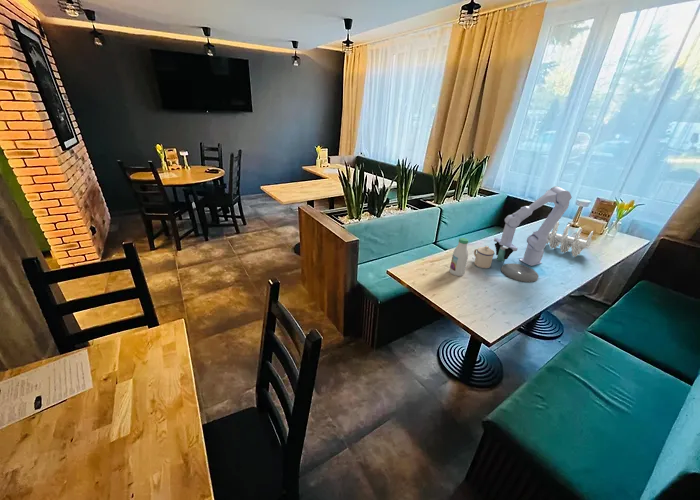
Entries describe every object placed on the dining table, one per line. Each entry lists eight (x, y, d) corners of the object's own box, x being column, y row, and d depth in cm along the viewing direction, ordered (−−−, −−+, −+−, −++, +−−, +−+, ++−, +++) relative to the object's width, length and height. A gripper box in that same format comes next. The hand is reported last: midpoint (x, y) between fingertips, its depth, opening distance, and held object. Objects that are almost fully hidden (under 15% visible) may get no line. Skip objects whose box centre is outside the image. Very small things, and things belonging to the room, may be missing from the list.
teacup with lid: (494, 267, 165) (499, 248, 159) (482, 270, 161) (487, 251, 156) (478, 257, 174) (482, 240, 169) (466, 260, 171) (470, 242, 166)
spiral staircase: (541, 248, 197) (585, 261, 179) (533, 243, 185) (580, 257, 167) (552, 222, 195) (598, 233, 177) (545, 216, 183) (594, 227, 165)
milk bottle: (464, 270, 160) (471, 237, 151) (464, 277, 154) (472, 243, 145) (449, 268, 163) (456, 235, 154) (448, 274, 156) (455, 241, 147)
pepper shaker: (500, 257, 175) (503, 245, 172) (506, 260, 172) (510, 248, 168) (495, 258, 174) (498, 246, 170) (501, 262, 170) (504, 250, 166)
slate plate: (516, 262, 170) (517, 261, 169) (545, 278, 155) (546, 276, 155) (493, 268, 163) (494, 266, 163) (521, 285, 149) (522, 283, 148)
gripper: (492, 232, 170) (486, 252, 176) (513, 241, 158) (506, 263, 164) (501, 230, 172) (495, 250, 179) (522, 240, 161) (515, 261, 167)
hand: (501, 256), depth 172 cm, fingers open, 5 cm apart
